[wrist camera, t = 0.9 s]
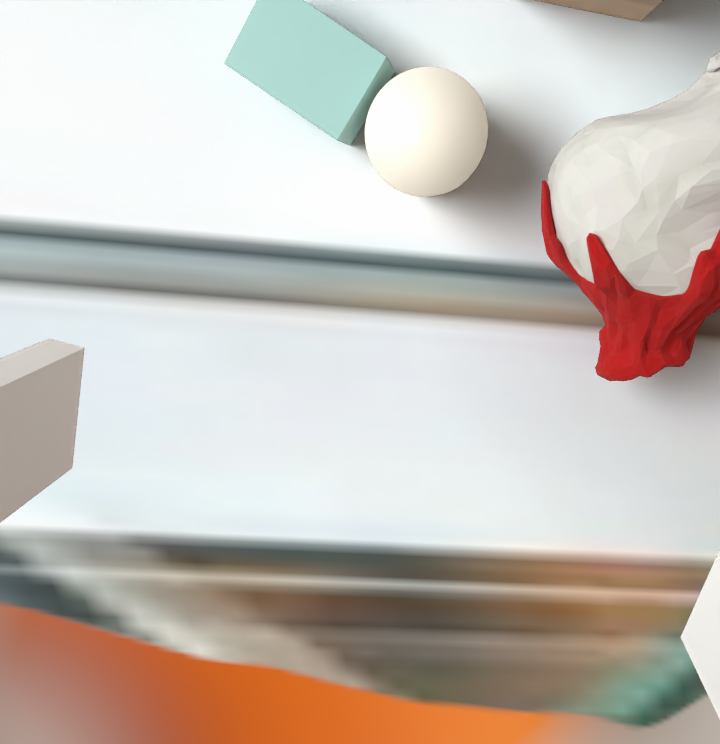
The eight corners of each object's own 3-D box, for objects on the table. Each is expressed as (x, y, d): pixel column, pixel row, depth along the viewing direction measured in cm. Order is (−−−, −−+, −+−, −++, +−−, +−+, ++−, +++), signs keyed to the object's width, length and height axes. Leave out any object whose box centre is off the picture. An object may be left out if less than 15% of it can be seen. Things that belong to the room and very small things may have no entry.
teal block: (291, 1, 33) (269, -24, 29) (395, 72, 33) (386, 56, 29) (250, 77, 34) (224, 63, 30) (350, 145, 34) (337, 140, 30)
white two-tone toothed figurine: (811, 31, 30) (735, 354, 35) (546, 31, 31) (514, 342, 37) (949, 7, 21) (821, 434, 27) (579, 8, 23) (530, 415, 28)
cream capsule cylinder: (393, 78, 33) (379, 54, 27) (494, 100, 32) (502, 80, 27) (370, 183, 34) (353, 182, 29) (468, 205, 34) (470, 208, 28)
